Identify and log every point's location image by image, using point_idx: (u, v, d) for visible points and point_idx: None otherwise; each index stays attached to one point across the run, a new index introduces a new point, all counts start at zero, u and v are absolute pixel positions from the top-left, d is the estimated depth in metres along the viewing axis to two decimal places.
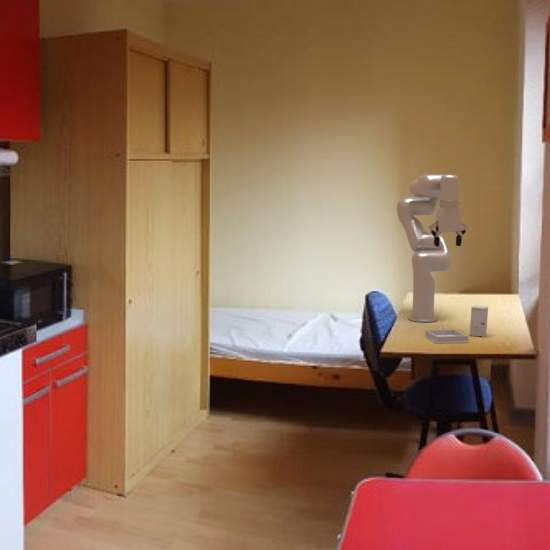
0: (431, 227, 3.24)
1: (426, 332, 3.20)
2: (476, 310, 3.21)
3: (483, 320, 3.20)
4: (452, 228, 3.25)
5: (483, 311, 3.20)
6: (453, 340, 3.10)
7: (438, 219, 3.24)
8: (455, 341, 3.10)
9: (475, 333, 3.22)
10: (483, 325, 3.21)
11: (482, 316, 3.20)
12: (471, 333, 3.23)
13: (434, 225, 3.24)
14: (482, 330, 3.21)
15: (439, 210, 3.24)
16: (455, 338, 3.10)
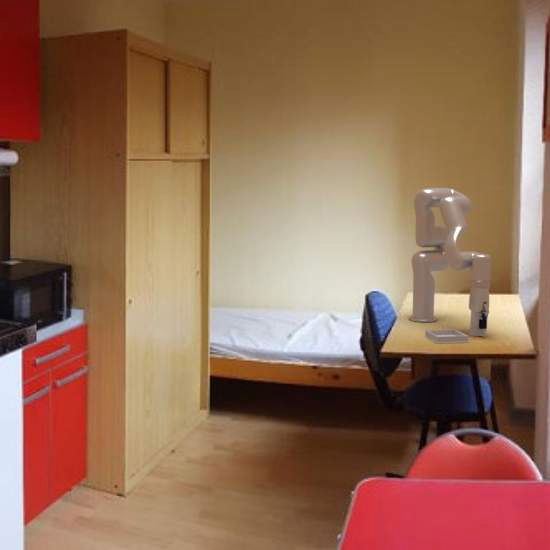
0: None
1: (426, 332, 3.20)
2: None
3: None
4: None
5: None
6: (453, 340, 3.10)
7: (487, 300, 3.17)
8: (455, 341, 3.10)
9: (475, 333, 3.22)
10: None
11: None
12: (471, 333, 3.23)
13: None
14: (482, 330, 3.21)
15: (486, 290, 3.17)
16: (455, 338, 3.10)
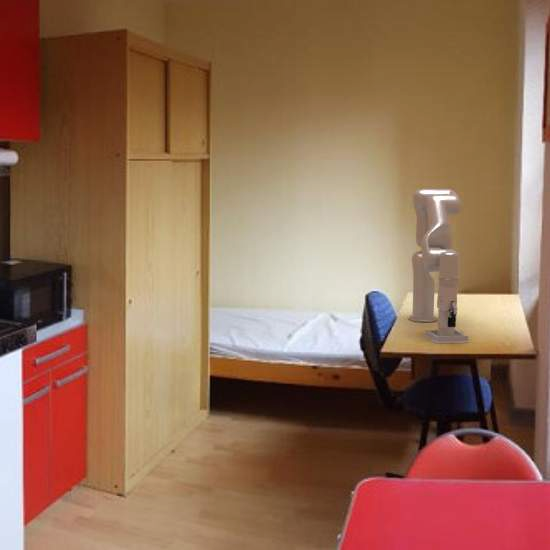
0: None
1: (426, 332, 3.20)
2: (443, 312, 3.14)
3: None
4: None
5: None
6: (453, 340, 3.10)
7: (454, 299, 3.10)
8: (455, 341, 3.10)
9: (443, 335, 3.15)
10: (451, 327, 3.13)
11: None
12: (439, 335, 3.16)
13: None
14: (450, 332, 3.14)
15: (454, 289, 3.09)
16: (455, 338, 3.10)
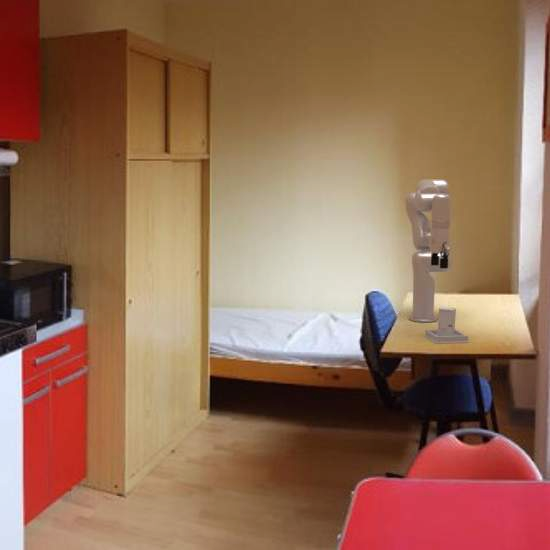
0: None
1: (426, 332, 3.20)
2: (443, 312, 3.14)
3: (451, 322, 3.13)
4: None
5: (450, 313, 3.13)
6: (453, 340, 3.10)
7: (446, 240, 3.16)
8: (455, 341, 3.10)
9: (443, 335, 3.15)
10: (451, 327, 3.13)
11: (450, 318, 3.13)
12: (439, 335, 3.16)
13: None
14: (450, 332, 3.14)
15: (446, 230, 3.16)
16: (455, 338, 3.10)
